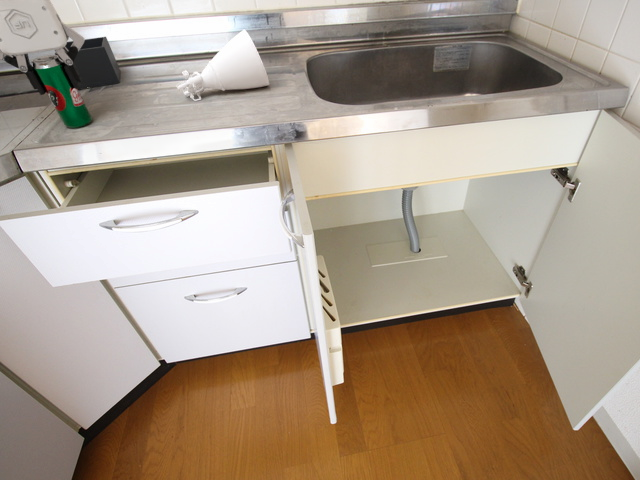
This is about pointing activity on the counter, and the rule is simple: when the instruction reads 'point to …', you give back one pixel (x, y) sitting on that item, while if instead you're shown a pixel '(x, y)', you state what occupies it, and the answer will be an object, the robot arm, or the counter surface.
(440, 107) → the counter surface
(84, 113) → the soda can
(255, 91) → the counter surface
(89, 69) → the bin
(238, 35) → the rocket engine
